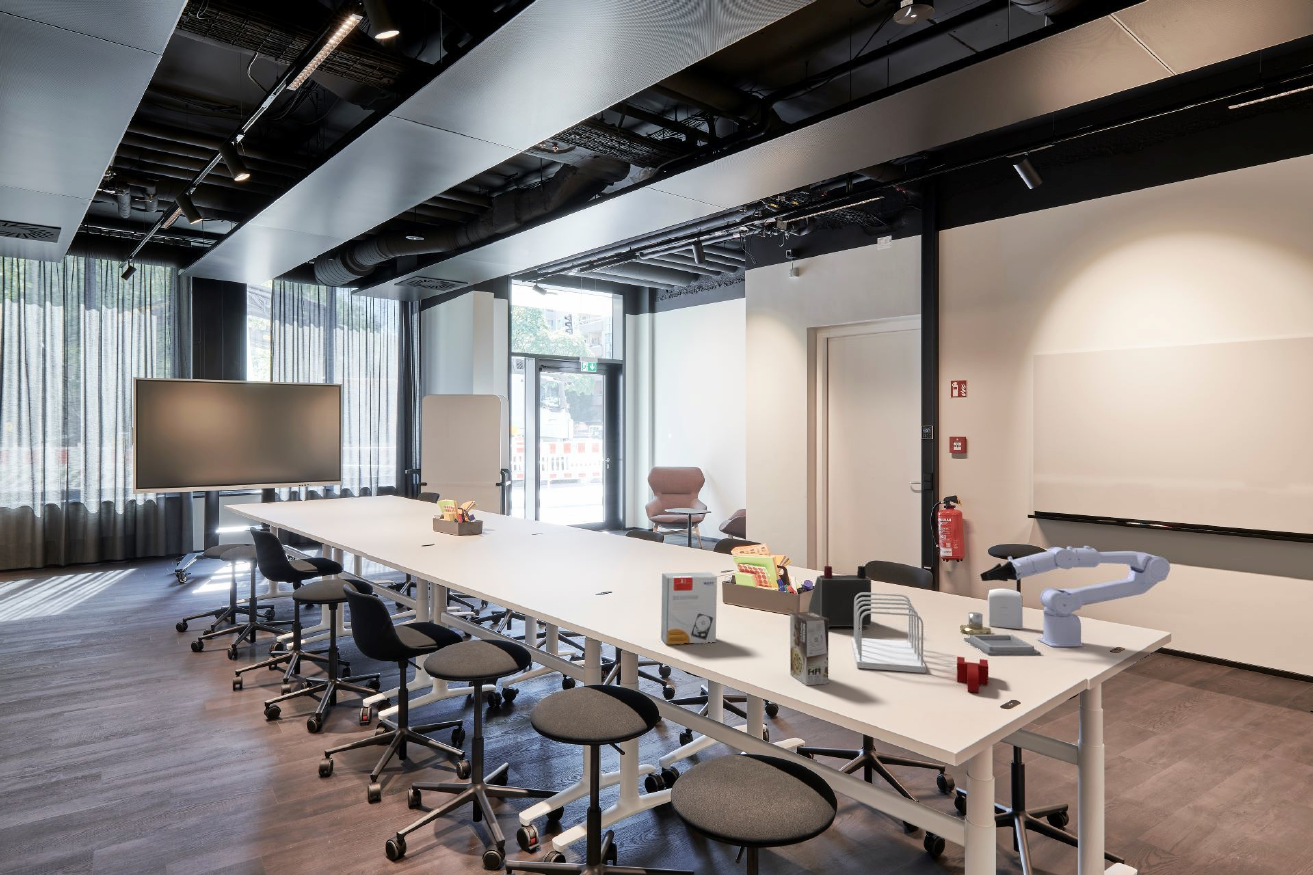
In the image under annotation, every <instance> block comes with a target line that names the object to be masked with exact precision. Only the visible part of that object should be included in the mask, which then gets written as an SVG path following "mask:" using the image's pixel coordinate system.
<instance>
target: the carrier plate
mask: <svg viewBox="0 0 1313 875" xmlns="http://www.w3.org/2000/svg"><path fill="white" fill-rule="evenodd" d="M963 641H964V642H966V643H967V642H968V643H967V644H969V643H970V644H969V645H971V646H972V645H973V646H972V647H974V648H976V649H977V648H978V649H977V650H979V649H980V650H981V651H980V650H979V651H980V652H982V653H984V654H985V655H987V656H1041V654H1042V652H1041V651H1040V650H1037V649H1035V646H1034V645H1032V644H1030V643H1029V642H1026V641H1024V640H1023V639H1020V638H1019V637H1017V636H1015V635H1013V634H991V635H970V636H969V637H964V638H963Z"/></svg>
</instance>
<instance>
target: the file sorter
mask: <svg viewBox="0 0 1313 875" xmlns="http://www.w3.org/2000/svg"><path fill="white" fill-rule="evenodd" d="M860 595H871V596H884V597H871V598H864V597H863V598H860V599H858V600H857V601H856V599H857V597H858V596H860ZM886 596H887V597H886ZM888 596H889V598H888ZM890 597H891V598H890ZM893 597H902V598H893ZM861 600H871V602H861V603H860V604H858V606H857V603H858V602H859V601H861ZM892 601H893V602H892ZM862 604H871V606H865V607H862V608H861V609H860V610H859V611H858V608H859V607H860V606H861V605H862ZM872 605H875V606H872ZM877 605H892V606H877ZM893 605H895V606H893ZM899 605H900V606H899ZM905 606H907V607H905ZM864 609H871V611H867V612H865V613H863V614H862V616H861V618H860V629H859V615H860V612H861V611H862V610H864ZM872 609H873V610H872ZM877 610H878V611H877ZM879 610H901V611H902V610H905V611H907V610H908V612H897V611H894V612H893V611H879ZM869 613H871V614H875V615H876V614H879V615H891V616H897V615H898V616H905V617H906V616H908V638H907V639H908V641H907V640H896V639H895V640H894V639H878V638H865V637H863V629H862V619H863V617H864V615H866V614H869ZM850 638H851V639H850V643H851V648H852V652H853V655H854V661H855V664H856V668H857V669H868V670H885V671H895V672H908V673H909V672H910V673H922V674H926V673H927V666H926V664H925V662H924V621H923V619H922V618H921V616H919V615H918V611H917V610H916V609H915V607H914V606H913V604H912V603H911V599H909V597H908V596H907V595H905V594H902V593H901V594H899V593H887V592H886V593H883V592H871V593H859V594H857V595H856V597H855V599H854V626H853V637H850Z"/></svg>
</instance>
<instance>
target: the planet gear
mask: <svg viewBox="0 0 1313 875" xmlns="http://www.w3.org/2000/svg"><path fill="white" fill-rule="evenodd" d="M959 628H960V630H961V631H960V630H959V631H960V634H965V633H966V634H965V635H968V636H969V635H992V629H991V627H986V626H983V613H980V612H975V611H971V612H970V611H969V612H968V624H967V625H963V624H962V625H960V627H959Z"/></svg>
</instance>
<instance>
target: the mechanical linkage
mask: <svg viewBox="0 0 1313 875" xmlns="http://www.w3.org/2000/svg"><path fill="white" fill-rule="evenodd" d="M965 658H966V657H965V656H964V657H963V656H956V682H957V683H959V684H960V683H962V684H967V686H966V687H967V692H969V693H974V694H979V693H980V691H979V689H980V688H979V686H987V687H989V662H988V659H983V658H979V662H970V661H966V660H965Z"/></svg>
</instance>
